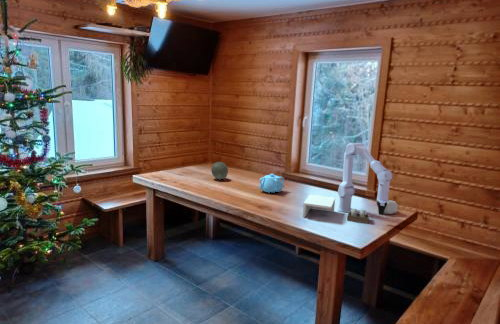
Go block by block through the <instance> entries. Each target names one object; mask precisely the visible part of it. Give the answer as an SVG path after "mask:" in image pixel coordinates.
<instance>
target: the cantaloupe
mask: <svg viewBox="0 0 500 324" xmlns="http://www.w3.org/2000/svg"><path fill="white" fill-rule="evenodd" d="M210 170H211V175H212V176H213V177H214V178H215V179H217V180H218V179H219V181H222V180H221V179H223V180H225V179H226V178H227V176H228V173H229V167H228V166H227V164H226V163H225V162H222V161H216V162H214V163H213V164H212V166H211V169H210Z"/></svg>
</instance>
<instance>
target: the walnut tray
mask: <svg viewBox="0 0 500 324" xmlns="http://www.w3.org/2000/svg"><path fill="white" fill-rule="evenodd" d="M346 221H347V222H354V223H355V222H356V223H362V224H369V222H370V214H369V213H368V214H367V210H365V209H360V210H359V212H358V209H357V208H352V209H351V212H347V217H346Z"/></svg>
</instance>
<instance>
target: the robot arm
mask: <svg viewBox="0 0 500 324" xmlns="http://www.w3.org/2000/svg"><path fill="white" fill-rule="evenodd" d="M357 155H359V156H362V158H364V160H366V161H367V162H368V163H369V165H370V166H369V167H370V169H372V171H373V172H374V173H375V174H376V177H377V180H378V187H377V196H376V205H377V207H378V208H377V209H378V210H377V211H378V215H379V216H383V215H384V214H383V213H384V210H385V208H386V206H387V202H388V201H389V202H390V199H389V194H390V193H389V192H390V185H391V184H390V183H391V180H392V179H393V173H392V171H391V170H388V169H387V168H386V167H385V166H383V164H382V162H381V161H379V160H376V159H374V157H373V156H372V154H371V153H370V152H369V151H368V149H367V146H365V145H364V143H363V142H353V143H352V142H350V143H348V144H346V146H345V151H344V153H343V168H342V182H341V183H340V184H339V185H338V188H337V189H338V190H337V194H338V196H339V203H338V208H337V212H340V213H342V212H343V213H348V212H351V210H352V209H353V208H352V199H353V196H354V195H355V193H356V190H355V184H354V183H353V182H352V181H353V164H354V157H355V156H357Z"/></svg>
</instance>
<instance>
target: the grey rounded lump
mask: <svg viewBox="0 0 500 324" xmlns="http://www.w3.org/2000/svg"><path fill="white" fill-rule="evenodd" d="M389 200H390V199H389ZM398 206H399V204H398V203H397V201H394V200H392V199H391V200H390V202H389V201H388V202H387V206H386V208H385V210H384V213H383V215H384V214H385V215H392V214H395V213H397V211H398V209H399V207H398Z"/></svg>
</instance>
